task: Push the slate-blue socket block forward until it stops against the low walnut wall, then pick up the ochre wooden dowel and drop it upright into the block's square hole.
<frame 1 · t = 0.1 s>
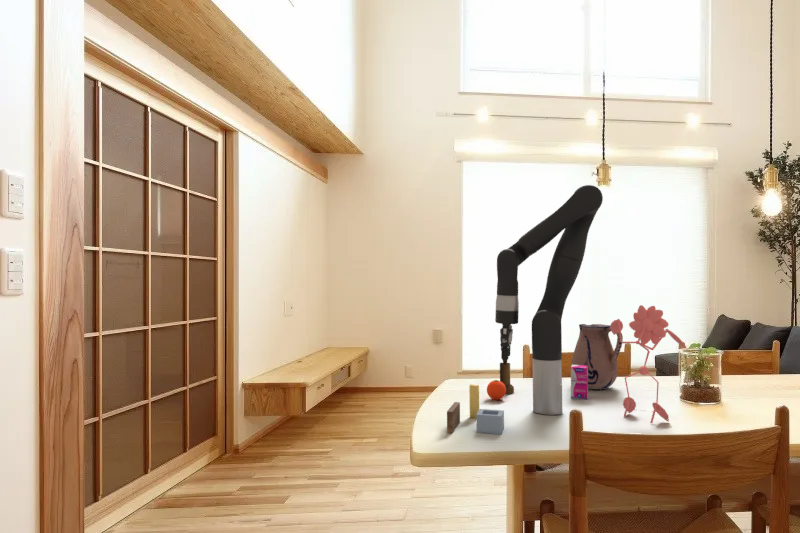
hand: (505, 357, 176), 17 cm above the table, tool pointing down, fingers open, 8 cm apart
clementine: (496, 399, 191), on the table
supplement box: (579, 397, 193), on the table
dowel: (474, 417, 166), on the table
ceramic pitcher: (598, 388, 209), on the table
wall: (453, 427, 155), on the table
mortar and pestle: (505, 392, 203), on the table
figurine: (650, 418, 165), on the table
socket block: (490, 421, 152), point 3 cm above the table, slide at 0.0 cm
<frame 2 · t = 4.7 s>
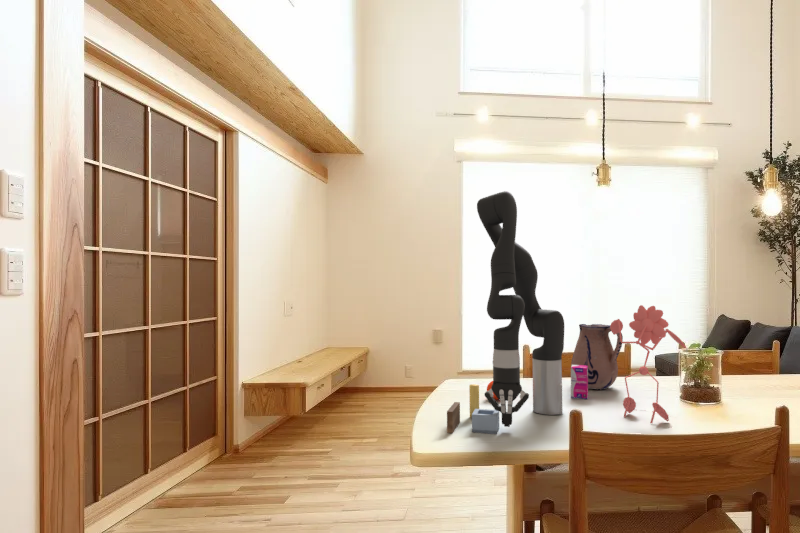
hand: (506, 425, 150), 2 cm above the table, tool pointing down, fingers closed
socket block: (485, 420, 152), point 3 cm above the table, slide at 1.4 cm, touching gripper
everything else where it was.
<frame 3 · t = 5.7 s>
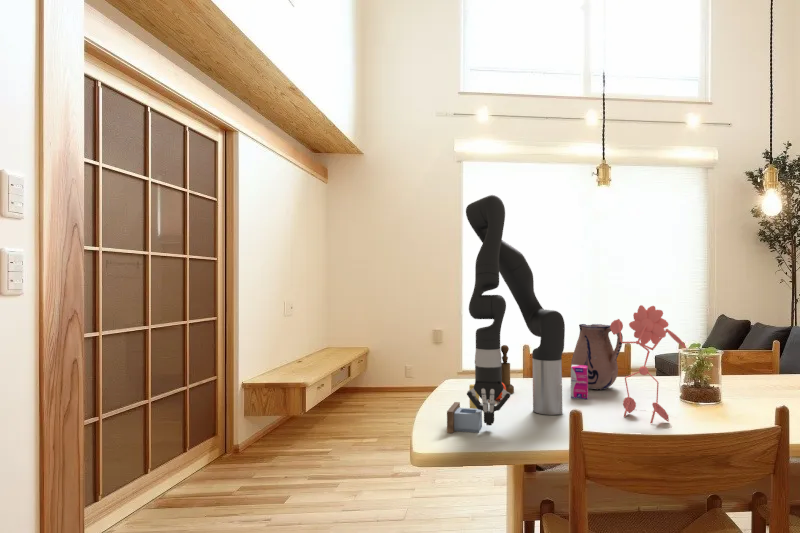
hand: (489, 424, 152), 2 cm above the table, tool pointing down, fingers closed
socket block: (468, 419, 154), point 3 cm above the table, slide at 6.4 cm, touching gripper, wall
everything else where it was.
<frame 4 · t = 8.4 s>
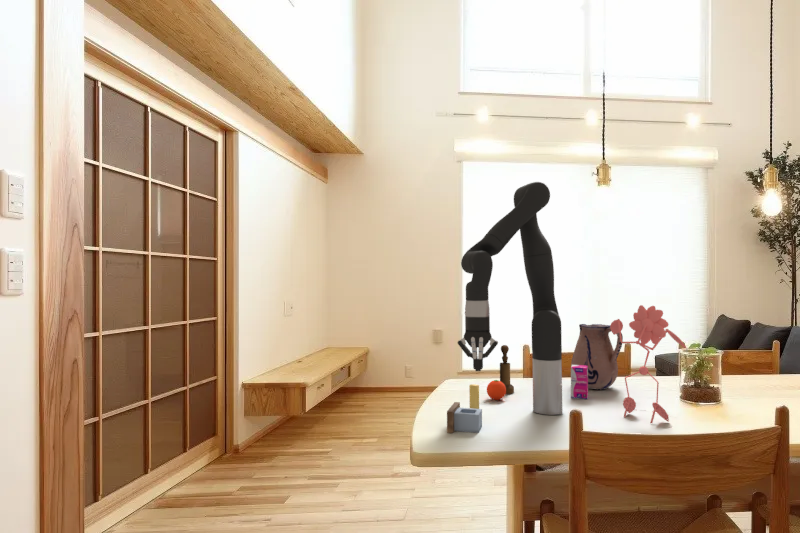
hand: (478, 370, 164), 15 cm above the table, tool pointing down, fingers closed
socket block: (468, 419, 154), point 3 cm above the table, slide at 6.4 cm
everything else where it was.
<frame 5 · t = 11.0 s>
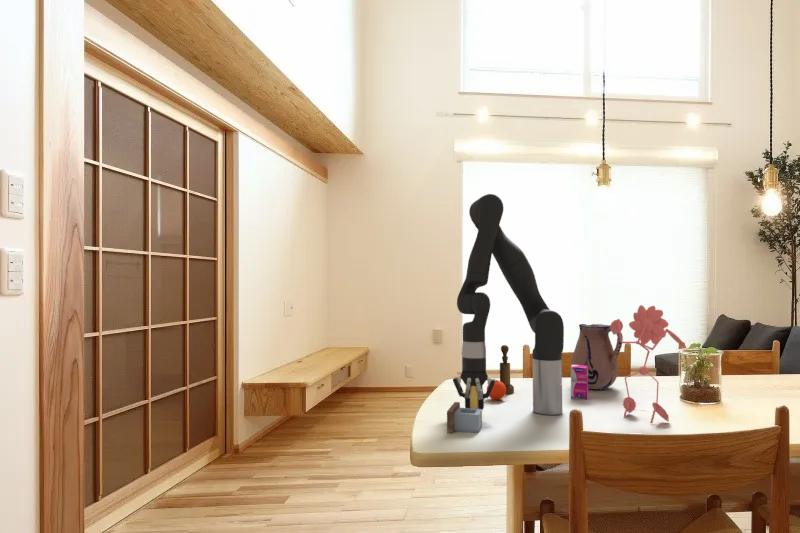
hand: (474, 410, 166), 2 cm above the table, tool pointing down, fingers closed on dowel, 3 cm apart
dowel: (474, 417, 166), on the table, touching gripper
everything else where it was.
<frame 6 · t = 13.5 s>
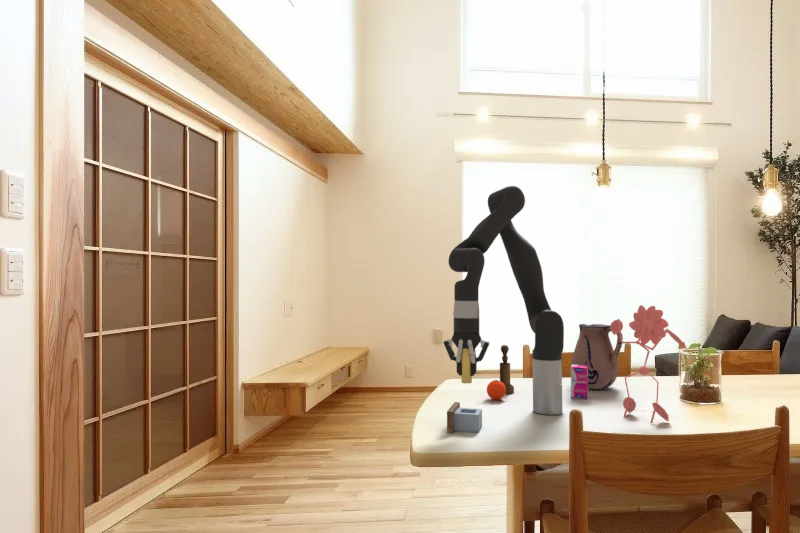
hand: (466, 375, 154), 15 cm above the table, tool pointing down, fingers closed on dowel, 3 cm apart
dowel: (466, 382, 154), point 13 cm above the table, touching gripper
everything else where it was.
when the fingers open (6 cm above the table, at t = 15.9 s): dowel drops 3 cm, resting on socket block.
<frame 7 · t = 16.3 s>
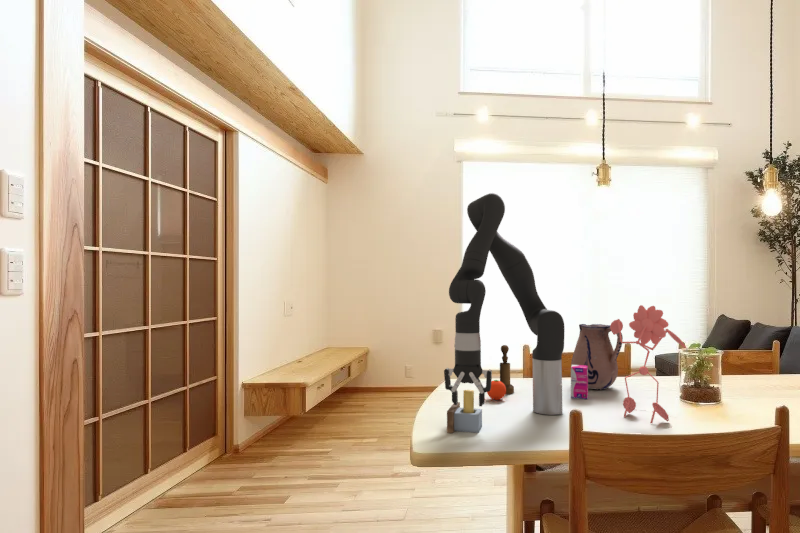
hand: (468, 405, 154), 7 cm above the table, tool pointing down, fingers open, 6 cm apart
dowel: (468, 425, 154), point 1 cm above the table, touching socket block
socket block: (468, 419, 154), point 2 cm above the table, slide at 6.4 cm, touching dowel
everything else where it was.
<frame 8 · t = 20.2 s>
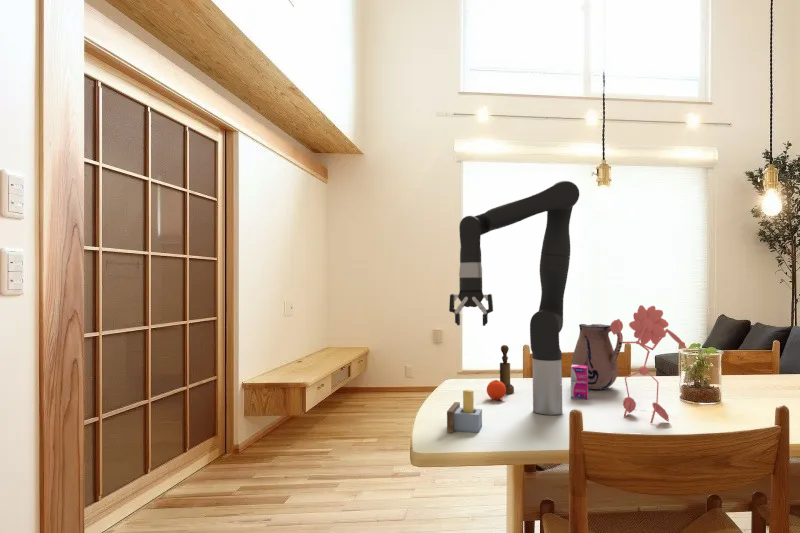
hand: (471, 325, 175), 28 cm above the table, tool pointing down, fingers open, 8 cm apart
nothing on the table moved.
at the end: dowel 0.1 cm off-centre on the socket block, point 0.8 cm above the socket block's base; dowel tilted 1°; socket block slide at 6.4 cm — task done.
